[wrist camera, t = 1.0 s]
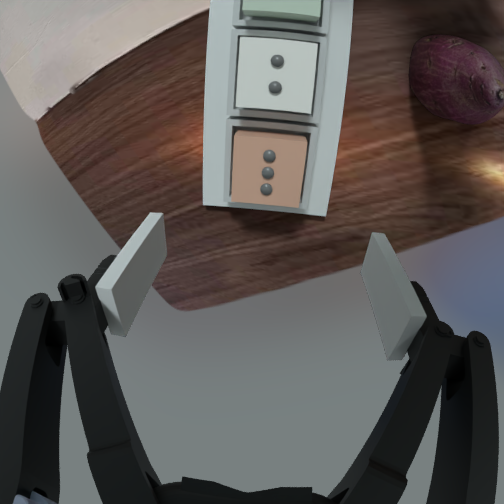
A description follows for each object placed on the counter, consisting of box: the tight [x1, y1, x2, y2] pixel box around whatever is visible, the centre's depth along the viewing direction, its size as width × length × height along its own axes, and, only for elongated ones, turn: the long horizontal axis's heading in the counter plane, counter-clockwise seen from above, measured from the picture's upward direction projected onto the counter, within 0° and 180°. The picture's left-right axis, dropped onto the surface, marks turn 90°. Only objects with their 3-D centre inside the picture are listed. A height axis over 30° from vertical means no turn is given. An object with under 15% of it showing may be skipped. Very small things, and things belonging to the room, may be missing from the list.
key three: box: [231, 130, 307, 208], centre depth 28 cm, size 6×6×3 cm
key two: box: [236, 37, 318, 114], centre depth 23 cm, size 6×6×3 cm
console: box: [203, 0, 353, 216], centre depth 26 cm, size 30×14×4 cm, turn 176°
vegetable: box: [409, 35, 504, 124], centre depth 20 cm, size 10×10×15 cm
